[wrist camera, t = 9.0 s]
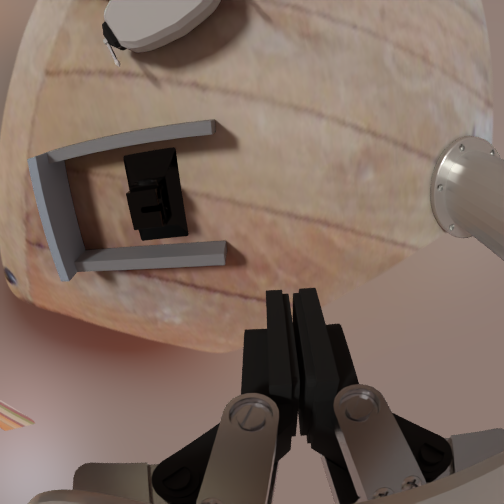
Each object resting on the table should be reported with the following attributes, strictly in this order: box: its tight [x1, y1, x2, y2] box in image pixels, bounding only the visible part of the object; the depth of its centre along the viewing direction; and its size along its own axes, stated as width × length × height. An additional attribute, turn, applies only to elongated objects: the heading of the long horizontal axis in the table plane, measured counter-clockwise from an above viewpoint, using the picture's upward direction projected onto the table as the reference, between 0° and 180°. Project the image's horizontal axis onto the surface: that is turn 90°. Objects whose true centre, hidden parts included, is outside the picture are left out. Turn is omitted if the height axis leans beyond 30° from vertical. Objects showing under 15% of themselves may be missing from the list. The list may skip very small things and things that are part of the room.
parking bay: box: [27, 119, 227, 281], centre depth 27 cm, size 18×14×5 cm
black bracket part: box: [123, 147, 188, 241], centre depth 28 cm, size 12×7×5 cm, turn 5°
